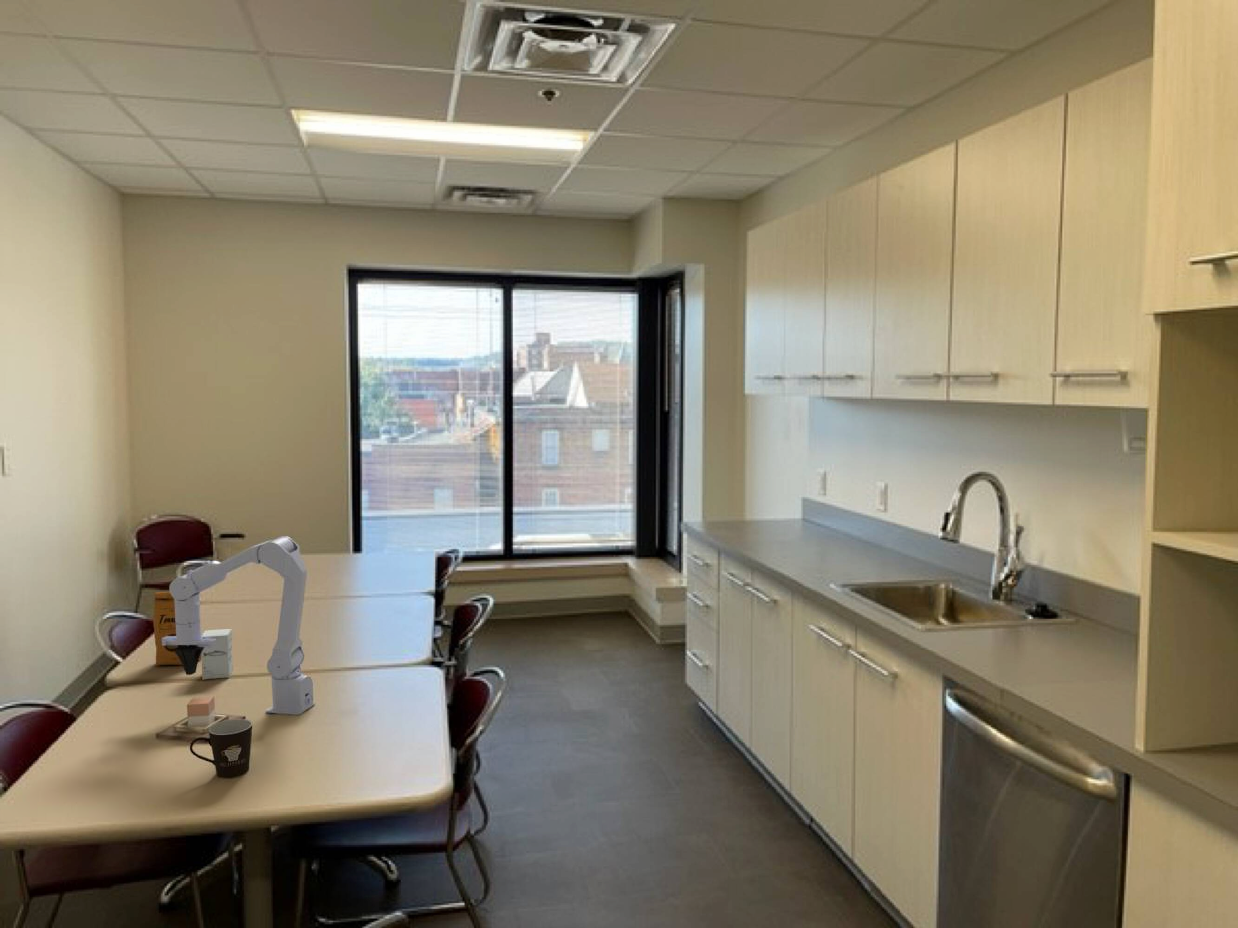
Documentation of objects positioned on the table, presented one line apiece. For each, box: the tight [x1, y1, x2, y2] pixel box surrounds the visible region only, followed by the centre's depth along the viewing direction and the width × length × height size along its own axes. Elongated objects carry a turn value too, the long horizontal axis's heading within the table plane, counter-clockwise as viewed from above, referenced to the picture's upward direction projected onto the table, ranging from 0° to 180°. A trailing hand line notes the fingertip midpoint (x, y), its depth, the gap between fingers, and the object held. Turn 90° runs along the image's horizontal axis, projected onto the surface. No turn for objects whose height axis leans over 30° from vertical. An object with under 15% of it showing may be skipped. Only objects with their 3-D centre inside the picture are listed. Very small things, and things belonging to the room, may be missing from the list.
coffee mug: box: [189, 719, 253, 779], centre depth 187 cm, size 12×9×10 cm
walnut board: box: [155, 713, 247, 743], centre depth 211 cm, size 14×14×2 cm
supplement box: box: [201, 628, 234, 681], centre depth 250 cm, size 7×7×13 cm
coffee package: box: [152, 591, 202, 666], centre depth 261 cm, size 10×12×22 cm
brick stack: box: [186, 696, 216, 727], centre depth 211 cm, size 5×5×6 cm
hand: (190, 673), depth 223 cm, fingers closed
